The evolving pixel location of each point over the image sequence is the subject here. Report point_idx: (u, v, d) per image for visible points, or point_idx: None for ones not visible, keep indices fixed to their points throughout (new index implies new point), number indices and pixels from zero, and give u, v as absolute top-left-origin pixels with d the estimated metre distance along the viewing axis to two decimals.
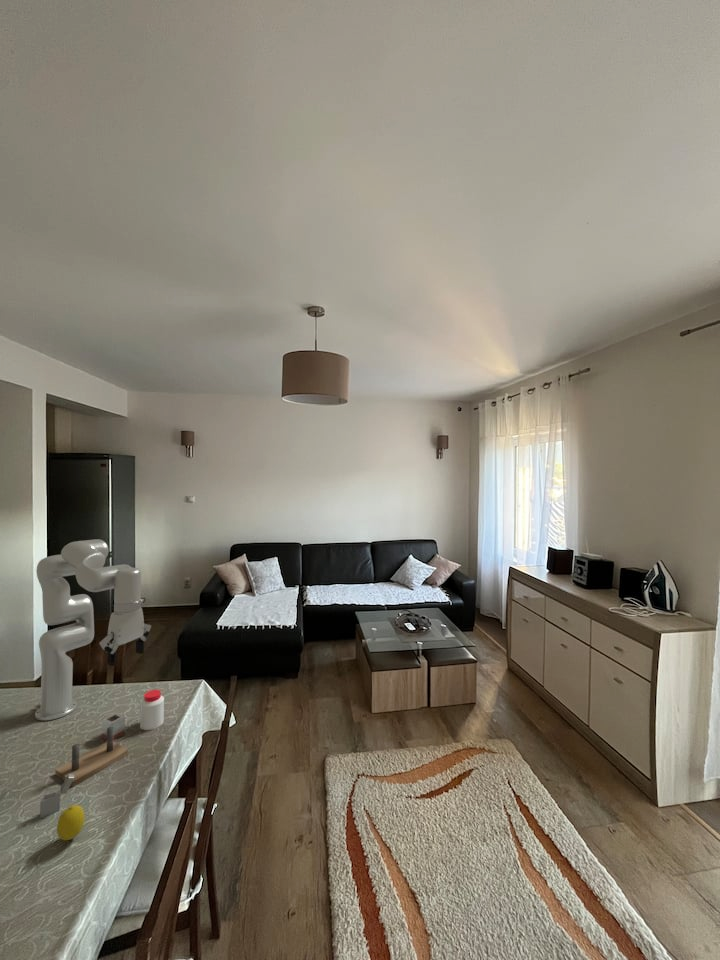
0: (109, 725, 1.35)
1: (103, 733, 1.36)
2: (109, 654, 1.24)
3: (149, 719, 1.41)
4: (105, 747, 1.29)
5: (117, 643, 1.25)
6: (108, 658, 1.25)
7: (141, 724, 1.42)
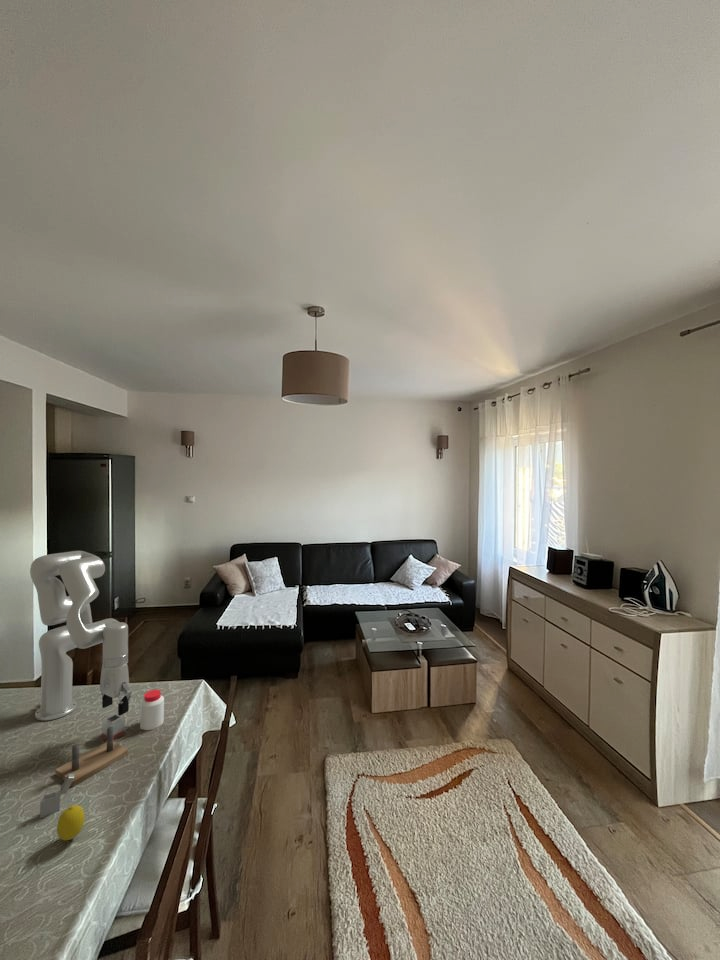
0: (109, 725, 1.35)
1: (103, 733, 1.36)
2: (125, 703, 1.35)
3: (149, 719, 1.41)
4: (105, 747, 1.29)
5: None
6: (124, 707, 1.34)
7: (141, 724, 1.42)
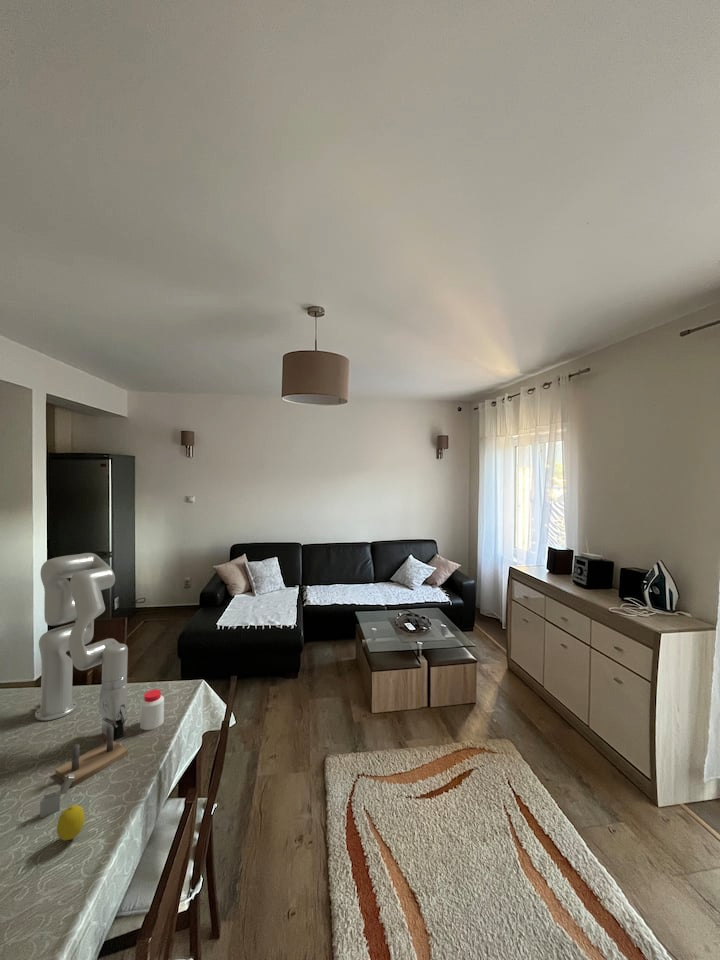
0: (109, 725, 1.35)
1: (103, 733, 1.36)
2: (120, 726, 1.36)
3: (149, 719, 1.41)
4: (105, 747, 1.29)
5: (126, 712, 1.37)
6: (118, 731, 1.35)
7: (141, 724, 1.42)
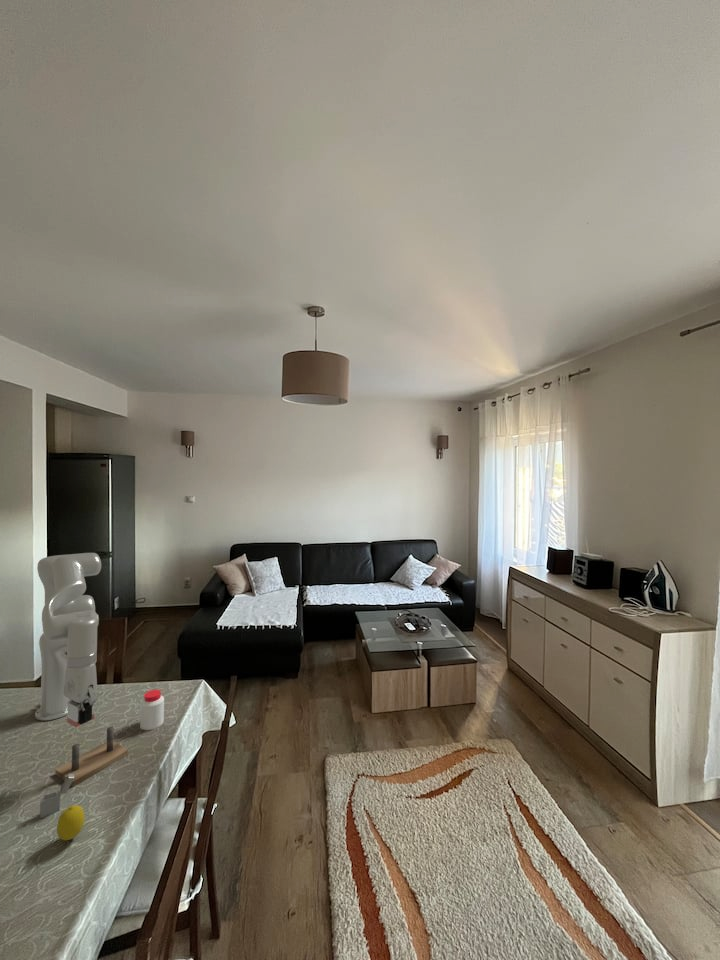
0: (75, 708, 1.18)
1: (68, 718, 1.19)
2: (88, 710, 1.19)
3: (149, 719, 1.41)
4: (105, 747, 1.29)
5: (95, 693, 1.20)
6: (86, 715, 1.19)
7: (141, 724, 1.42)
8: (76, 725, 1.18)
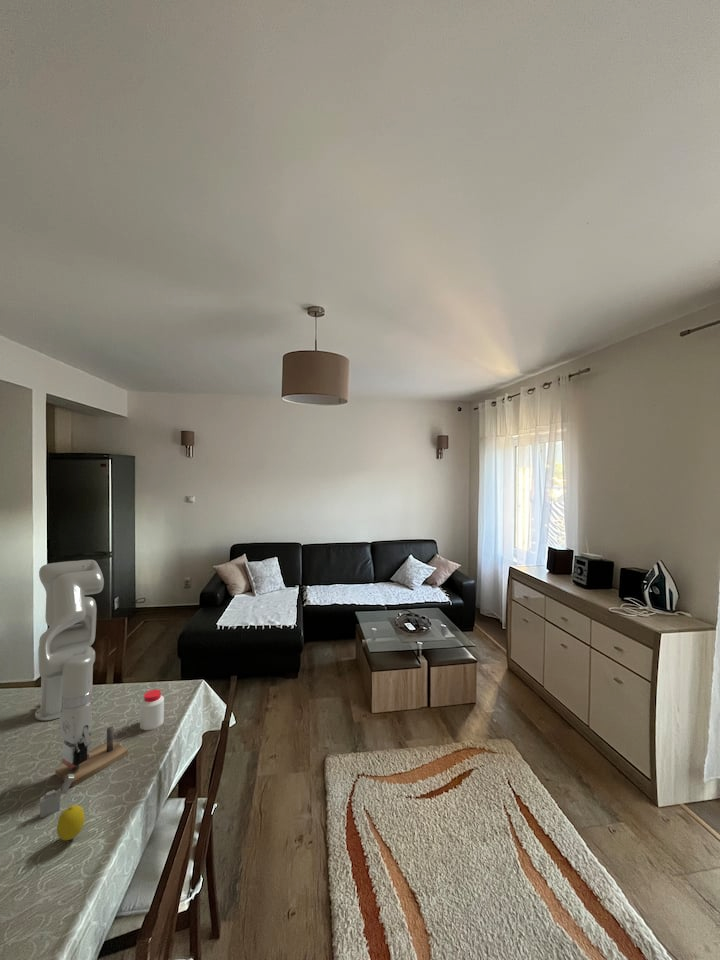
0: (70, 749, 1.16)
1: (63, 759, 1.18)
2: (83, 751, 1.17)
3: (149, 719, 1.41)
4: (105, 747, 1.29)
5: None
6: (81, 756, 1.17)
7: (141, 724, 1.42)
8: (71, 766, 1.16)
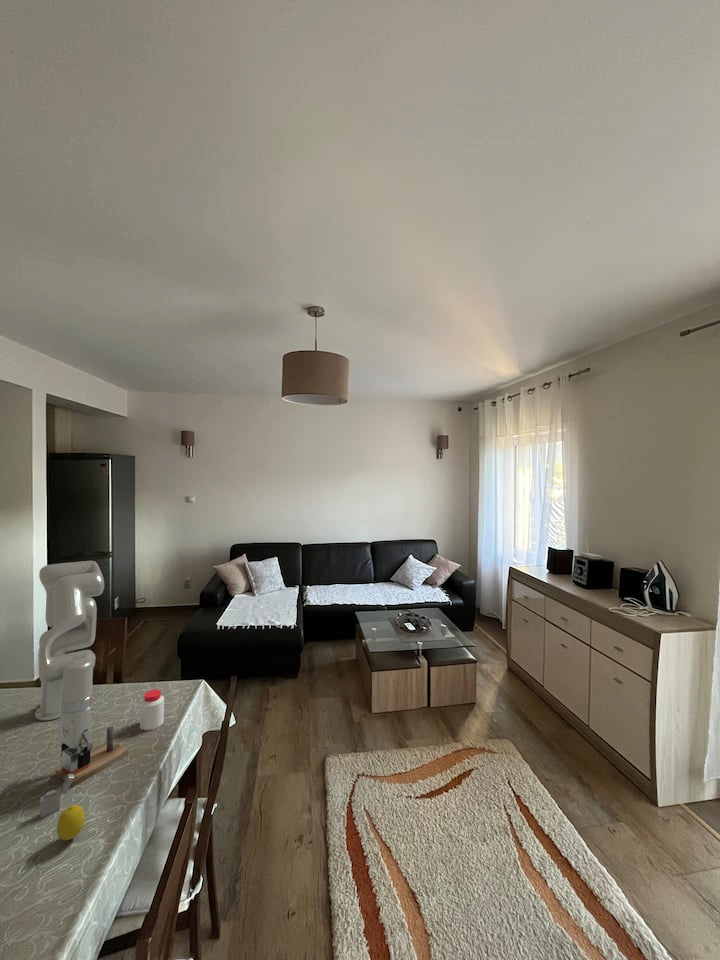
0: (70, 758, 1.16)
1: (63, 767, 1.18)
2: (86, 754, 1.17)
3: (149, 719, 1.41)
4: (105, 747, 1.29)
5: None
6: (84, 759, 1.16)
7: (141, 724, 1.42)
8: None
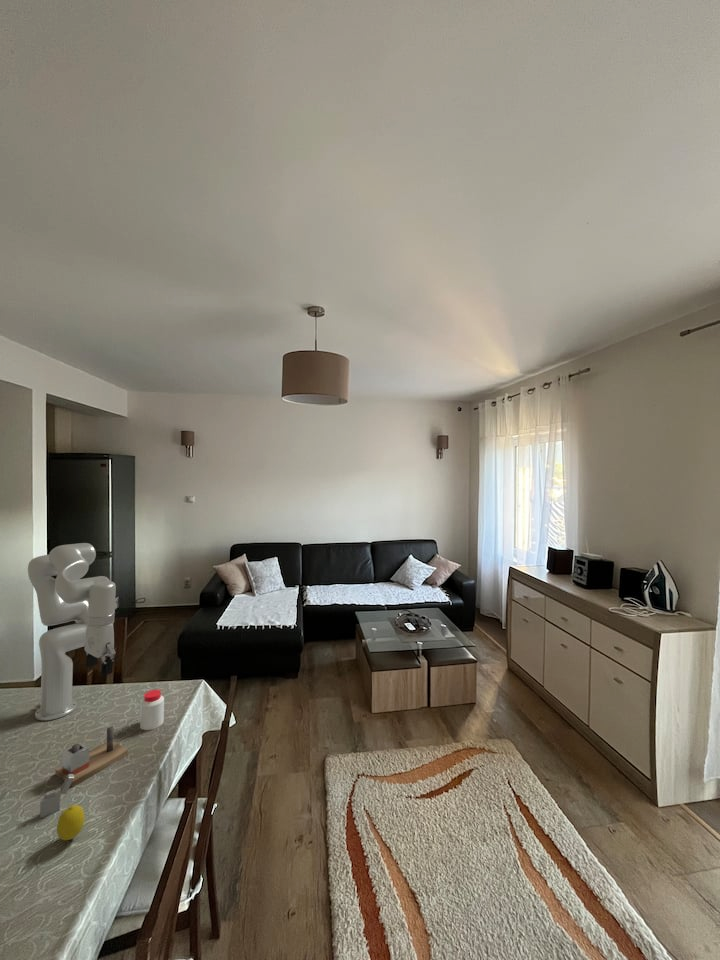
0: (70, 758, 1.16)
1: (63, 767, 1.18)
2: (109, 663, 1.30)
3: (149, 719, 1.41)
4: (105, 747, 1.29)
5: None
6: (107, 668, 1.29)
7: (141, 724, 1.42)
8: None
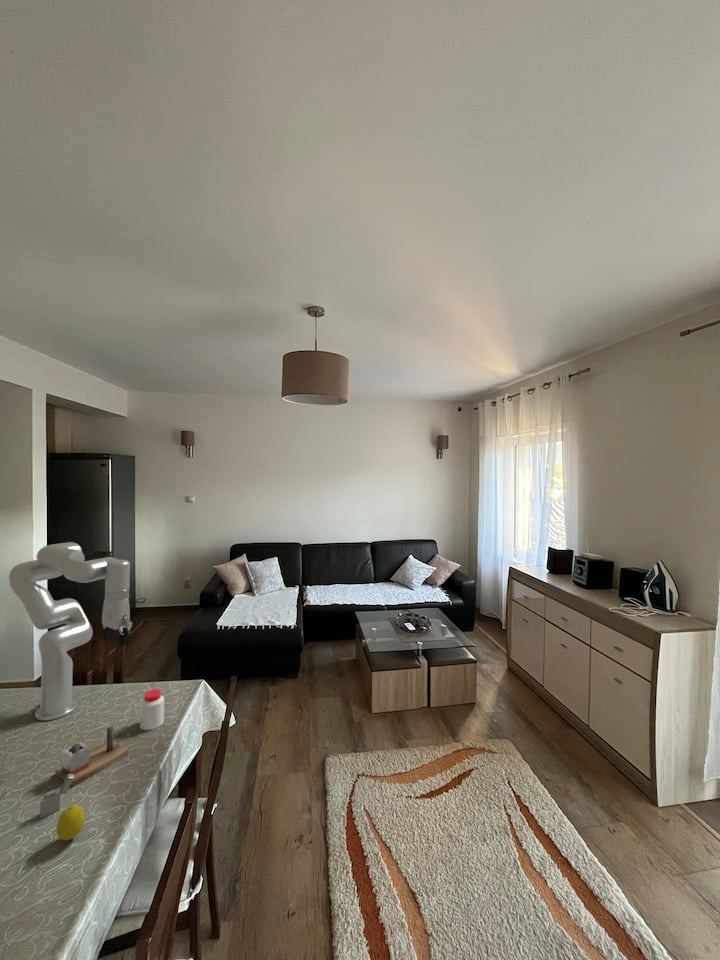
0: (70, 758, 1.16)
1: (63, 767, 1.18)
2: (126, 635, 1.40)
3: (149, 719, 1.41)
4: (105, 747, 1.29)
5: None
6: (124, 639, 1.40)
7: (141, 724, 1.42)
8: None
